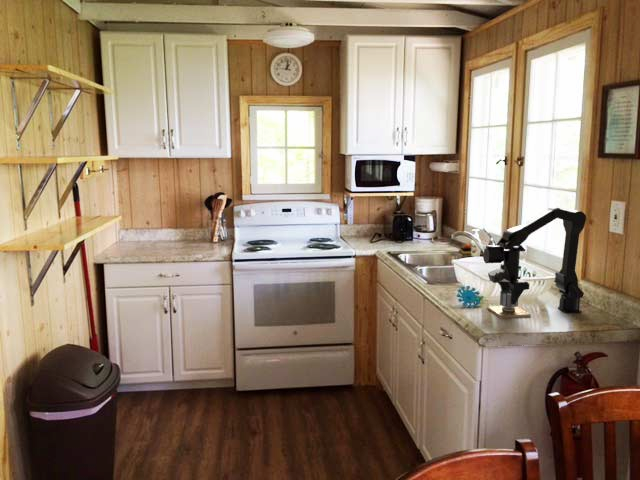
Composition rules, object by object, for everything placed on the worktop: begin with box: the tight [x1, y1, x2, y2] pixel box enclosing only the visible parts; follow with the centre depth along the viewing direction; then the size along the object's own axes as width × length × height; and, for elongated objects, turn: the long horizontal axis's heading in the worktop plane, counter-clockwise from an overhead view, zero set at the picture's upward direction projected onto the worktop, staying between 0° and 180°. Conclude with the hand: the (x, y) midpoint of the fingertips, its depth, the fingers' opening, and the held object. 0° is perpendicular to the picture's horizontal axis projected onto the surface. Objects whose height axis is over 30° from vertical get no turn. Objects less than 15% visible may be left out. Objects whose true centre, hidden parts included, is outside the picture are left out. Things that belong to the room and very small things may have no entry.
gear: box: [456, 285, 485, 309], centre depth 225 cm, size 11×6×10 cm
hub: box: [499, 290, 519, 307], centre depth 214 cm, size 7×7×5 cm
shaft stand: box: [486, 305, 532, 319], centre depth 214 cm, size 12×12×6 cm
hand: (509, 301), depth 214 cm, fingers closed on hub, 7 cm apart
